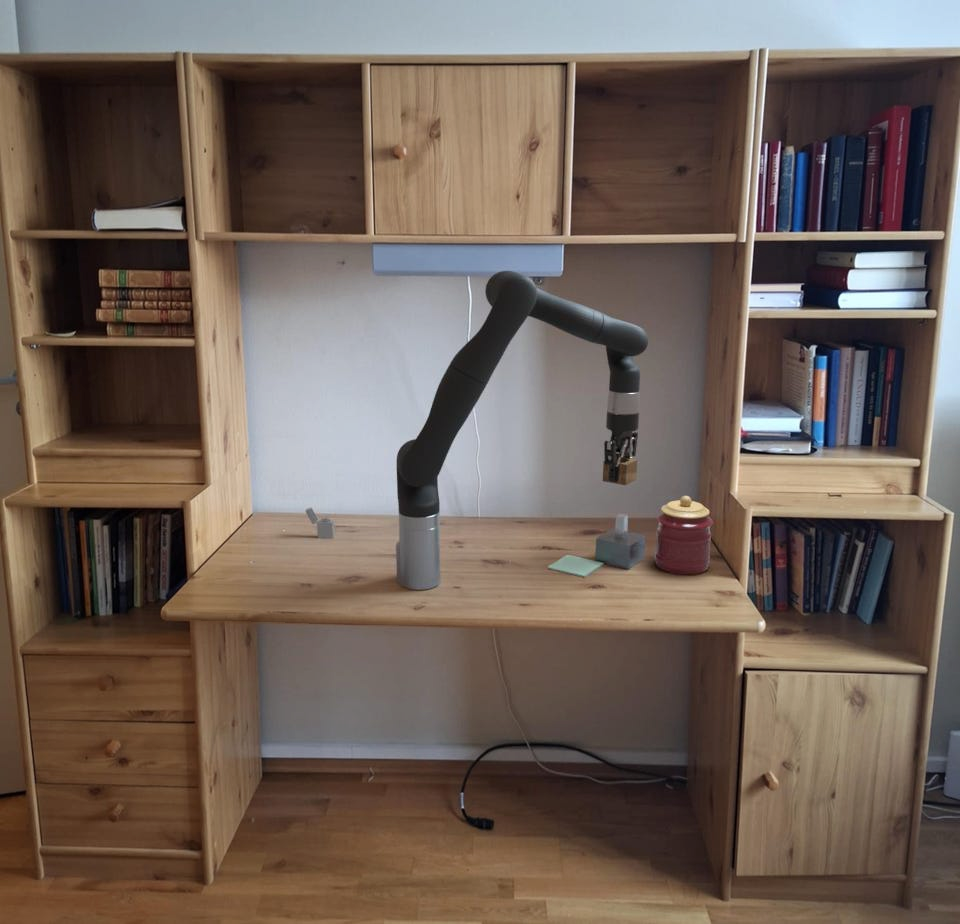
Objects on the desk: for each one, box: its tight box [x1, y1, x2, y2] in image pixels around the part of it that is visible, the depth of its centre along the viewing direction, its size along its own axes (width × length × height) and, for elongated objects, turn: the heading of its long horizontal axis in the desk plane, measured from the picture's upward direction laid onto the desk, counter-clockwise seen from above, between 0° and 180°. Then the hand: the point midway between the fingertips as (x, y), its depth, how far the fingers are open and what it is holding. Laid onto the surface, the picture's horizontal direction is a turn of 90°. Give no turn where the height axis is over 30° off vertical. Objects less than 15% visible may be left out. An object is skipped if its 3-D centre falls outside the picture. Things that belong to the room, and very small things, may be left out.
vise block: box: [594, 513, 646, 570], centre depth 214 cm, size 9×9×12 cm
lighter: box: [305, 507, 335, 539], centre depth 231 cm, size 7×2×8 cm, turn 87°
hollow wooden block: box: [602, 457, 638, 486], centre depth 210 cm, size 6×6×5 cm
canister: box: [654, 495, 714, 576], centre depth 210 cm, size 13×13×18 cm
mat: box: [547, 554, 605, 578], centre depth 212 cm, size 10×10×1 cm
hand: (619, 478), depth 210 cm, fingers closed on hollow wooden block, 6 cm apart
